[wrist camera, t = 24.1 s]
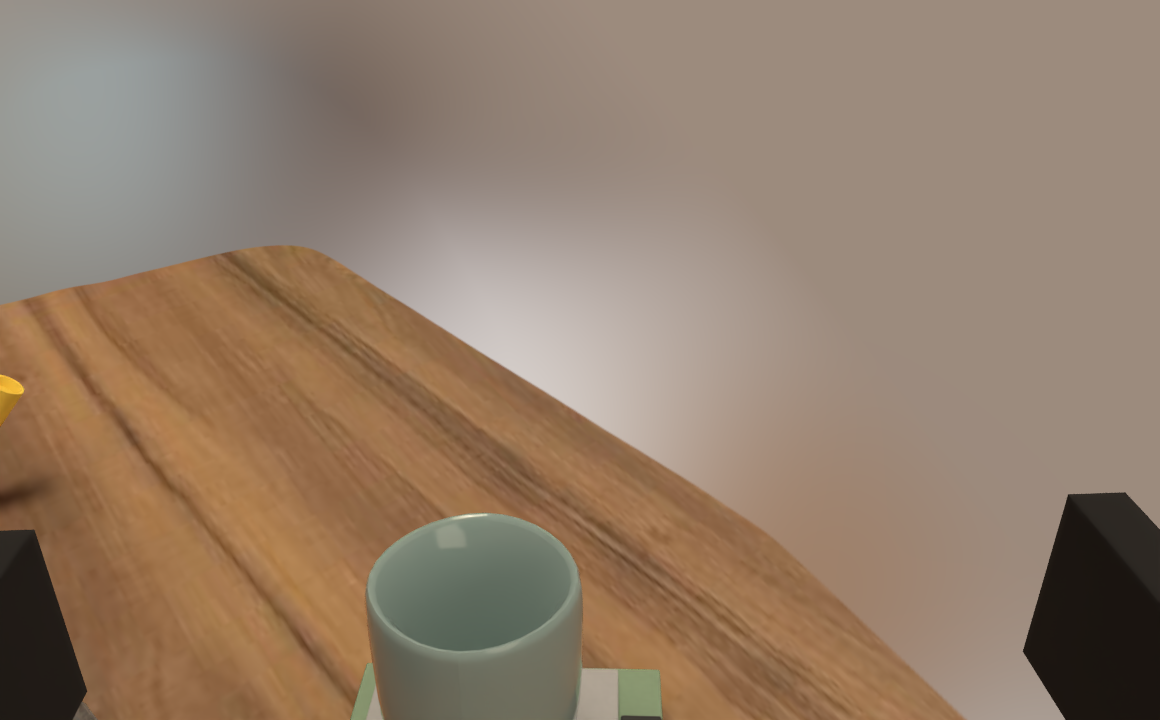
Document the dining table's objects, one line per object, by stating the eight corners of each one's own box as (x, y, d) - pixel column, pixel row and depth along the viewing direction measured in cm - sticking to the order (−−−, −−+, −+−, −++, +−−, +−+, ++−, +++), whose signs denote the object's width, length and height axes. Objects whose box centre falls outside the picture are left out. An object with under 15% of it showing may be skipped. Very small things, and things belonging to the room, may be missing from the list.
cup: (618, 769, 40) (624, 580, 35) (466, 891, 35) (450, 692, 31) (499, 665, 45) (491, 488, 40) (353, 760, 40) (324, 572, 36)
